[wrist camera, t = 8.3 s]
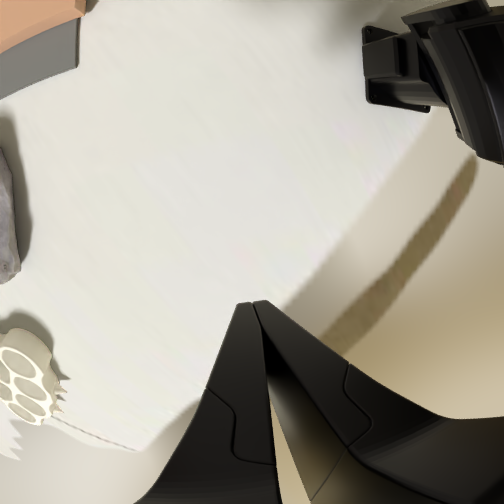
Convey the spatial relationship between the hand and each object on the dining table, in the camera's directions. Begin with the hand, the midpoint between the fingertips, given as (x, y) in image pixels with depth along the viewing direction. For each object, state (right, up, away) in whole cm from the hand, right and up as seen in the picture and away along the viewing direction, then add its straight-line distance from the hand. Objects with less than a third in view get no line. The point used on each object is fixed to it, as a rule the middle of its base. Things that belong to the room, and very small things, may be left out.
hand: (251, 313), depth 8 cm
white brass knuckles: (-29, -13, +16) cm, 36 cm away
